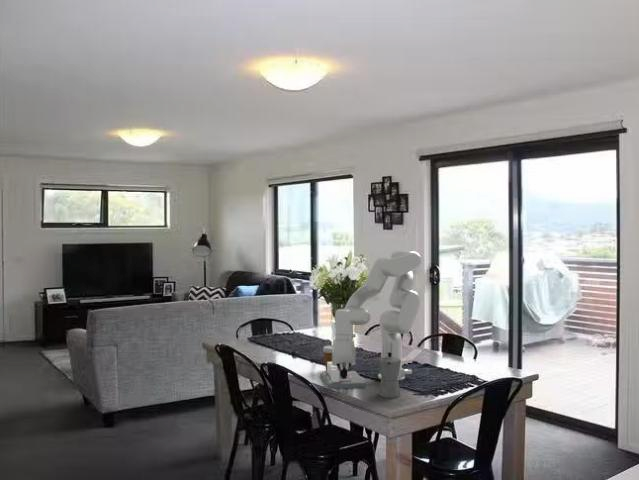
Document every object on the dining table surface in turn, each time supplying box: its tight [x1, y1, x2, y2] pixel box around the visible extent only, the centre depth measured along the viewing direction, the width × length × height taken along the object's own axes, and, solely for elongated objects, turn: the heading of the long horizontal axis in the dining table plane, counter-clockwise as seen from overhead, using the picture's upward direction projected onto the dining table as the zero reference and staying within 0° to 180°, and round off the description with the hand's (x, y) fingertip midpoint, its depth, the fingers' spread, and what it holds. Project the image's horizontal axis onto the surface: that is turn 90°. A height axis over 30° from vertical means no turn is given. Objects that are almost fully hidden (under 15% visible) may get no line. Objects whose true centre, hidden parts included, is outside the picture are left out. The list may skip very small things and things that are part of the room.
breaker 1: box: [327, 362, 332, 375], centre depth 284 cm, size 3×4×5 cm
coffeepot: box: [378, 352, 402, 399], centre depth 257 cm, size 15×9×18 cm, turn 171°
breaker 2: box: [330, 365, 338, 377], centre depth 277 cm, size 3×4×5 cm
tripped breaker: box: [331, 369, 340, 382], centre depth 270 cm, size 3×4×5 cm
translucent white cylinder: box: [402, 348, 423, 366], centre depth 314 cm, size 6×6×25 cm
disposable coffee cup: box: [322, 344, 340, 372], centre depth 297 cm, size 10×10×12 cm
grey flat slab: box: [319, 370, 367, 390], centre depth 278 cm, size 17×22×2 cm
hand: (343, 378), depth 271 cm, fingers closed
